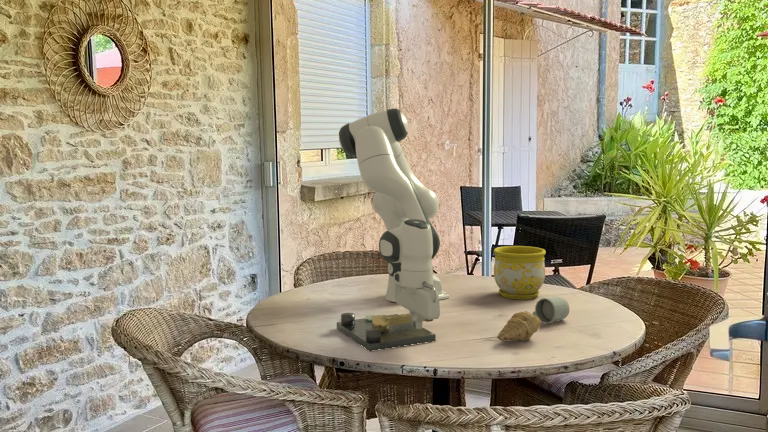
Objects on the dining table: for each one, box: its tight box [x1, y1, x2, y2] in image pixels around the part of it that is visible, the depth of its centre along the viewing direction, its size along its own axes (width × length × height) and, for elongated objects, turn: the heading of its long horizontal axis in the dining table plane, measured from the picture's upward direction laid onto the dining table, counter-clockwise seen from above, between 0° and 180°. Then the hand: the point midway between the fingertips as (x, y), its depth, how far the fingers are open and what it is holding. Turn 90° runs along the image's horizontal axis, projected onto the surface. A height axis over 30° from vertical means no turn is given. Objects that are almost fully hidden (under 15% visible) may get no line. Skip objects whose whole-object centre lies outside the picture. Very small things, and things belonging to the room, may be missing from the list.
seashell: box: [496, 310, 542, 342], centre depth 187 cm, size 14×8×8 cm, turn 132°
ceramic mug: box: [532, 296, 570, 324], centre depth 209 cm, size 11×8×8 cm
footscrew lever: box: [372, 312, 434, 332], centre depth 195 cm, size 19×5×4 cm, turn 115°
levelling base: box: [336, 312, 437, 352], centre depth 195 cm, size 20×24×5 cm
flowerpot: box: [493, 245, 546, 300], centre depth 240 cm, size 18×18×16 cm
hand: (417, 327), depth 189 cm, fingers closed
